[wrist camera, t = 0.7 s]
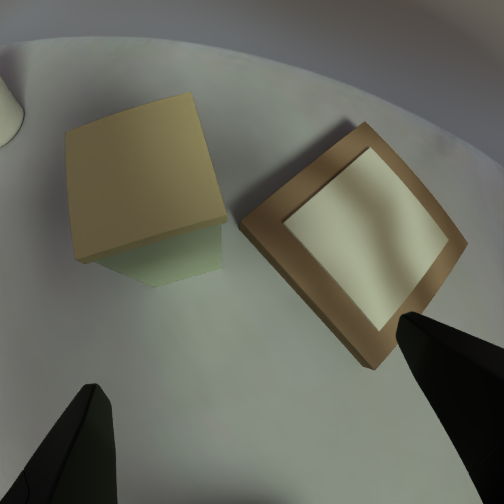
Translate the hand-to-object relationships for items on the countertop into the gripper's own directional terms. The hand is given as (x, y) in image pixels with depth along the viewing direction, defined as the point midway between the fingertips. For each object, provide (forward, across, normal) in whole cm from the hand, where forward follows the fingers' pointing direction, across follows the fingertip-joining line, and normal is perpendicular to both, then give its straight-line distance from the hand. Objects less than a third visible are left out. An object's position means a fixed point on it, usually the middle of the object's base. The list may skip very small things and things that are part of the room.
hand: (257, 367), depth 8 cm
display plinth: (+13, -11, +4) cm, 18 cm away
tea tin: (+15, +3, +3) cm, 15 cm away
